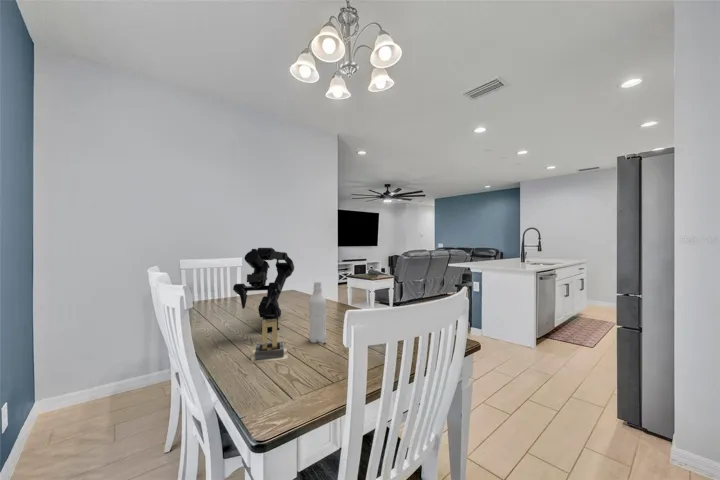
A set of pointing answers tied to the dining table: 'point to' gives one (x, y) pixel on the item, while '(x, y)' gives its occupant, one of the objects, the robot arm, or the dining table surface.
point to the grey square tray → (269, 353)
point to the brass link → (272, 324)
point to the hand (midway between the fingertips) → (254, 308)
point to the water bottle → (317, 315)
